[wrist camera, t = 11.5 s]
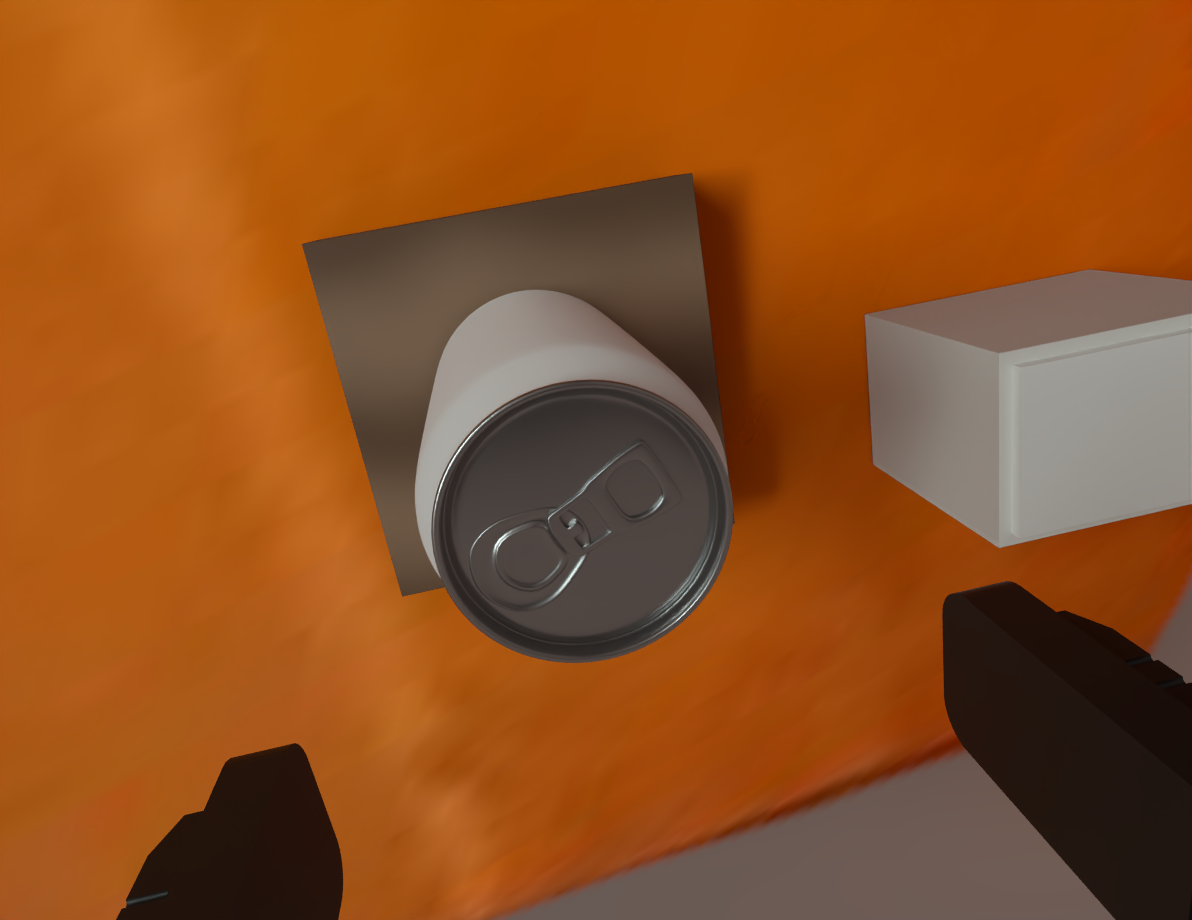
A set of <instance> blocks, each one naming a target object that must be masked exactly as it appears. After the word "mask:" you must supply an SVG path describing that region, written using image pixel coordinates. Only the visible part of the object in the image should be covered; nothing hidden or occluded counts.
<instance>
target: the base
mask: <svg viewBox="0 0 1192 920" xmlns="http://www.w3.org/2000/svg"><path fill="white" fill-rule="evenodd" d="M302 246H303V249H304V253H305V256H306V260H307V264H308V267H309V271H310V274H311V278H312V281H313V285H314V288H315V292H316V295H317V299H318V302H319V306H320V309H321V313H322V316H323V320H324V323H325V327H326V330H327V334H328V337H329V341H330V344H331V348H332V351H333V355H334V358H335V362H336V365H337V369H338V372H339V376H340V379H341V383H342V386H343V390H344V393H345V397H346V400H347V404H348V408H349V411H350V415H351V418H352V422H353V425H354V429H355V432H356V436H357V439H358V443H359V446H360V450H361V453H362V457H363V460H364V464H365V467H366V471H367V474H368V478H369V481H370V485H371V488H372V492H373V495H374V499H375V502H376V506H377V509H378V513H379V516H380V520H381V523H382V527H383V530H384V534H385V537H386V541H387V545H388V548H389V552H390V555H391V559H392V562H393V566H394V569H395V573H396V576H397V580H398V583H399V587H400V590H401V594H402V596H407V595H411V594H416V593H420V592H425V591H429V590H434V589H439V588H443V587H445V586H444V584H443V582H442V580H441V578H440V577H439V575H438V574H437V572H436V571H435V569H434V567H433V565H432V564H431V562H430V560H429V558H428V555H427V553H426V551H425V548H424V546H423V543H422V540H421V536H420V532H419V528H418V523H417V517H416V508H415V481H416V472H417V464H418V458H419V452H420V447H421V442H422V437H423V432H424V427H425V422H426V417H427V413H428V408H429V403H430V399H431V394H432V390H433V385H434V381H435V377H436V373H437V369H438V365H439V362H440V359H441V356H442V354H443V351H444V349H445V347H446V345H447V343H448V341H449V339H450V338H451V336H452V335H453V333H454V332H455V330H456V329H457V328H458V327H459V325H460V324H461V323H462V322H463V321H464V320H465V319H466V318H467V317H468V316H469V315H470V314H472V313H473V312H474V311H475V310H477V309H478V308H479V307H481V306H482V305H484V304H486V303H488V302H489V301H491V300H493V299H496V298H498V297H500V296H503V295H506V294H510V293H513V292H518V291H525V290H549V291H555V292H560V293H564V294H567V295H571V296H573V297H576V298H578V299H580V300H582V301H584V302H586V303H588V304H590V305H591V306H593V307H594V308H596V309H597V310H599V311H600V312H602V313H603V314H604V315H606V316H607V317H608V318H609V319H611V320H612V321H613V322H614V323H616V324H617V325H618V326H619V327H621V328H622V329H623V330H624V331H625V332H627V333H628V334H629V335H630V336H632V337H633V338H634V339H635V340H636V341H638V342H639V343H640V344H641V345H642V346H644V347H645V348H646V349H647V350H648V351H650V352H651V353H652V354H653V355H654V356H655V357H657V358H658V359H659V360H660V361H661V362H662V363H664V364H665V365H666V366H667V367H668V368H669V369H670V370H672V371H673V372H674V373H675V374H676V375H677V376H678V377H679V378H680V379H681V380H682V381H683V382H684V383H685V384H686V385H687V386H688V387H689V388H690V389H691V390H692V392H693V393H694V394H695V395H696V396H697V398H698V399H699V400H700V402H701V403H702V405H703V406H704V408H705V409H706V411H707V412H708V414H709V416H710V417H711V419H712V421H713V423H714V425H715V427H716V429H717V432H718V434H719V437H720V439H721V442H722V446H723V449H724V453H725V457H726V463H727V456H726V448H725V440H724V431H723V423H722V415H721V407H720V398H719V390H718V382H717V374H716V366H715V357H714V349H713V341H712V333H711V324H710V316H709V308H708V300H707V292H706V283H705V275H704V267H703V259H702V250H701V242H700V234H699V226H698V218H697V209H696V201H695V193H694V185H693V176H692V173H690V174H682V175H674V176H669V177H663V178H658V179H652V180H647V181H641V182H635V183H630V184H624V185H619V186H613V187H608V188H602V189H597V190H591V191H586V192H580V193H575V194H569V195H564V196H558V197H553V198H547V199H542V200H536V201H531V202H525V203H520V204H514V205H509V206H503V207H498V208H492V209H487V210H481V211H476V212H470V213H465V214H459V215H454V216H448V217H443V218H437V219H432V220H426V221H420V222H415V223H409V224H404V225H398V226H393V227H387V228H382V229H376V230H371V231H365V232H360V233H354V234H349V235H343V236H338V237H332V238H327V239H321V240H316V241H312V242H308V243H304V244H302ZM727 470H728V464H727ZM728 479H729V472H728ZM729 483H730V481H729ZM734 523H735V522H734V514H733V524H734Z"/></svg>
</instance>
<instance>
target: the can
mask: <svg viewBox="0 0 1192 920" xmlns="http://www.w3.org/2000/svg"><path fill="white" fill-rule="evenodd" d="M415 508H416V517H417V523H418V528H419V532H420V536H421V540H422V543H423V546H424V548H425V551H426V553H427V555H428V558H429V560H430V562H431V564H432V565H433V567H434V569H435V571H436V572H437V574H438V575H439V577H440V578H441V580H442V582H443V584H444V586H445V588H446V590H447V592H448V594H449V595H450V597H451V599H452V600H453V602H454V603H455V605H456V606H457V607H458V609H459V610H460V611H461V612H462V613H463V615H464V616H465V617H466V618H467V619H468V620H469V621H470V622H471V623H472V624H473V625H474V626H475V627H476V628H478V629H479V630H480V631H481V632H482V633H484V634H485V635H487V636H488V637H489V638H491V639H492V640H494V641H496V642H497V643H499V644H501V645H503V646H505V647H507V648H509V649H511V650H513V651H516V652H518V653H521V654H524V655H527V656H530V657H533V658H537V659H542V660H547V661H554V662H565V663H583V662H594V661H601V660H606V659H611V658H615V657H619V656H622V655H625V654H628V653H631V652H633V651H636V650H638V649H641V648H643V647H645V646H647V645H649V644H651V643H653V642H655V641H656V640H658V639H660V638H661V637H663V636H664V635H666V634H667V633H669V632H670V631H672V630H673V629H674V628H675V627H677V626H678V625H679V624H680V623H682V622H683V621H684V620H685V619H686V618H687V617H688V616H689V615H690V614H691V613H692V612H693V611H694V610H695V609H696V608H697V606H698V605H699V604H700V603H701V602H702V600H703V599H704V598H705V596H706V595H707V593H708V592H709V591H710V589H711V587H712V586H713V584H714V582H715V581H716V579H717V577H718V575H719V573H720V571H721V568H722V566H723V563H724V561H725V558H726V555H727V552H728V548H729V544H730V540H731V534H732V526H733V501H732V493H731V488H730V483H729V479H728V470H727V463H726V457H725V453H724V449H723V446H722V442H721V439H720V437H719V434H718V432H717V429H716V427H715V425H714V423H713V421H712V419H711V417H710V416H709V414H708V412H707V411H706V409H705V408H704V406H703V405H702V403H701V402H700V400H699V399H698V398H697V396H696V395H695V394H694V393H693V392H692V390H691V389H690V388H689V387H688V386H687V385H686V384H685V383H684V382H683V381H682V380H681V379H680V378H679V377H678V376H677V375H676V374H675V373H674V372H673V371H672V370H670V369H669V368H668V367H667V366H666V365H665V364H664V363H662V362H661V361H660V360H659V359H658V358H657V357H655V356H654V355H653V354H652V353H651V352H650V351H648V350H647V349H646V348H645V347H644V346H642V345H641V344H640V343H639V342H638V341H636V340H635V339H634V338H633V337H632V336H630V335H629V334H628V333H627V332H625V331H624V330H623V329H622V328H621V327H619V326H618V325H617V324H616V323H614V322H613V321H612V320H611V319H609V318H608V317H607V316H606V315H604V314H603V313H602V312H600V311H599V310H597V309H596V308H594V307H593V306H591V305H590V304H588V303H586V302H584V301H582V300H580V299H578V298H576V297H573V296H571V295H567V294H564V293H560V292H555V291H549V290H525V291H518V292H513V293H510V294H506V295H503V296H500V297H498V298H496V299H493V300H491V301H489V302H488V303H486V304H484V305H482V306H481V307H479V308H478V309H477V310H475V311H474V312H473V313H472V314H470V315H469V316H468V317H467V318H466V319H465V320H464V321H463V322H462V323H461V324H460V325H459V327H458V328H457V329H456V330H455V332H454V333H453V335H452V336H451V338H450V339H449V341H448V343H447V345H446V347H445V349H444V351H443V354H442V356H441V359H440V362H439V365H438V369H437V373H436V377H435V381H434V385H433V390H432V394H431V399H430V403H429V408H428V413H427V417H426V422H425V427H424V432H423V437H422V442H421V447H420V452H419V458H418V464H417V472H416V481H415Z"/></svg>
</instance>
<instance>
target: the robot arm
mask: <svg viewBox="0 0 1192 920" xmlns="http://www.w3.org/2000/svg"><path fill="white" fill-rule="evenodd" d="M943 665H944V700H945V706H946V710H947V714H948V717H949V720H950V722H951V725H952V727H953V729H954V731H955V734H956V735H957V737H958V739H959V741H960V742H961V744H962V745H963V746H964V748H965V749H966V750H967V751H968V752H969V754H970V755H971V756H972V757H973V758H974V759H975V760H976V762H977V763H978V764H979V765H980V766H981V767H982V768H983V769H984V770H985V772H986V773H987V774H988V775H989V776H990V777H991V778H992V780H993V781H994V782H995V783H996V784H997V785H998V787H999V788H1000V789H1001V790H1002V791H1003V792H1004V793H1005V794H1006V796H1007V797H1008V798H1009V799H1010V800H1011V801H1012V802H1013V804H1014V805H1015V806H1016V807H1017V808H1018V809H1019V810H1020V812H1021V813H1022V814H1023V815H1024V816H1025V817H1026V818H1027V819H1028V821H1029V822H1030V823H1031V824H1032V825H1033V826H1034V827H1035V828H1036V830H1037V831H1038V832H1039V833H1040V834H1041V835H1042V836H1043V838H1044V839H1045V840H1046V841H1047V842H1048V843H1049V845H1050V846H1051V847H1052V848H1053V849H1054V850H1055V851H1056V853H1057V854H1058V855H1059V856H1060V857H1061V858H1062V859H1063V860H1064V861H1065V863H1066V864H1067V865H1068V866H1069V867H1070V868H1071V869H1072V871H1073V872H1074V873H1075V874H1076V875H1077V876H1078V877H1079V879H1080V880H1081V881H1082V882H1083V883H1084V884H1085V885H1086V887H1087V888H1088V889H1089V890H1090V891H1091V892H1092V893H1093V895H1094V896H1095V897H1096V898H1097V899H1098V900H1099V901H1100V903H1101V904H1102V905H1103V906H1104V907H1105V908H1106V909H1107V911H1108V912H1109V913H1110V914H1111V915H1112V916H1113V917H1114V918H1115V919H1116V920H1192V683H1187V684H1186V683H1185V682H1184V680H1183V677H1182V676H1181V675H1179V674H1178V673H1176V672H1175V671H1174V670H1172V669H1171V668H1169V667H1168V666H1166V665H1165V664H1163V663H1162V662H1160V661H1159V660H1156V661H1153V660H1152V658H1151V655H1150V654H1149V653H1147V652H1146V651H1144V650H1143V649H1141V648H1140V647H1139V646H1137V645H1136V644H1134V643H1133V642H1131V641H1130V640H1128V639H1127V638H1125V637H1124V636H1123V635H1121V634H1120V633H1118V632H1117V631H1115V630H1114V629H1112V628H1110V627H1107V626H1104V625H1102V624H1099V623H1096V622H1094V621H1091V620H1089V619H1086V618H1083V617H1081V616H1078V615H1075V614H1073V613H1070V612H1068V611H1065V610H1064V611H1060V612H1055V611H1054V610H1053V609H1051V608H1050V607H1049V606H1047V605H1046V604H1044V603H1043V602H1042V601H1040V600H1039V599H1038V598H1036V597H1035V596H1033V595H1032V594H1031V593H1029V592H1028V591H1026V590H1025V589H1024V588H1022V587H1021V586H1019V585H1018V584H1016V583H1014V582H1011V581H1005V582H1001V583H997V584H992V585H988V586H984V587H979V588H975V589H971V590H966V591H962V592H958V593H953V594H950V595H948V596H947V597H946V599H945V601H944V604H943ZM342 893H343V869H342V860H341V854H340V849H339V845H338V841H337V838H336V835H335V833H334V830H333V827H332V824H331V822H330V819H329V816H328V813H327V811H326V808H325V805H324V802H323V799H322V797H321V794H320V791H319V788H318V786H317V783H316V780H315V777H314V775H313V772H312V769H311V766H310V764H309V761H308V758H307V756H306V754H305V752H304V750H303V749H302V747H301V746H300V745H298V744H296V743H294V744H290V745H286V746H281V747H277V748H273V749H268V750H264V751H259V752H255V753H251V754H246V755H242V756H238V757H233V758H230V759H229V760H228V761H227V762H226V763H225V764H224V766H223V768H222V770H221V773H220V775H219V777H218V779H217V782H216V784H215V786H214V788H213V791H212V793H211V795H210V798H209V800H208V802H207V804H206V807H205V809H204V811H200V812H196V813H192V814H188V815H184V816H183V818H182V819H181V820H180V821H179V822H178V823H177V824H176V825H175V826H174V828H173V829H172V830H171V831H170V832H169V833H168V834H167V835H166V836H165V838H164V839H163V840H162V841H161V842H160V843H159V844H158V845H157V846H156V847H155V849H154V850H153V851H152V852H151V853H150V854H149V855H148V856H147V859H146V861H145V863H144V865H143V867H142V869H141V871H140V873H139V875H138V877H137V879H136V881H135V883H134V885H133V887H132V889H131V891H130V893H129V895H128V897H127V899H126V902H127V906H126V908H123V909H121V911H120V913H119V915H118V917H117V919H116V920H338V918H339V912H340V907H341V901H342Z"/></svg>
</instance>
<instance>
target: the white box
mask: <svg viewBox="0 0 1192 920" xmlns="http://www.w3.org/2000/svg"><path fill="white" fill-rule="evenodd" d="M865 328H866V346H867V364H868V382H869V400H870V417H871V435H872V453H873V465H875V466H876V467H878V468H879V469H881V470H882V471H884V472H885V473H887V474H888V475H890V476H891V477H893V478H894V479H896V480H897V481H899V482H900V483H902V484H903V485H905V486H906V487H908V488H909V489H911V490H912V491H914V492H915V493H917V494H918V495H920V496H921V497H923V498H924V499H926V500H927V501H929V502H930V503H932V504H933V505H935V506H936V507H938V508H939V509H941V510H943V511H944V512H946V513H947V514H949V515H950V516H952V517H953V518H955V519H956V520H958V521H959V522H961V523H962V524H964V525H965V526H967V527H968V528H970V529H971V530H973V531H974V532H976V533H977V534H979V535H980V536H982V537H983V538H985V539H986V540H988V541H989V542H991V543H992V544H994V545H995V546H997V547H998V548H1001V547H1005V546H1009V545H1014V544H1018V543H1023V542H1027V541H1031V540H1036V539H1040V538H1044V537H1049V536H1053V535H1058V534H1062V533H1066V532H1071V531H1075V530H1079V529H1084V528H1088V527H1093V526H1097V525H1101V524H1106V523H1110V522H1114V521H1119V520H1123V519H1128V518H1132V517H1136V516H1141V515H1145V514H1149V513H1154V512H1158V511H1163V510H1167V509H1171V508H1176V507H1180V506H1184V505H1189V504H1192V281H1188V280H1179V279H1170V278H1161V277H1152V276H1143V275H1134V274H1125V273H1116V272H1107V271H1098V270H1084V271H1079V272H1074V273H1069V274H1064V275H1059V276H1054V277H1049V278H1044V279H1039V280H1034V281H1029V282H1024V283H1019V284H1014V285H1009V286H1004V287H999V288H994V289H989V290H984V291H979V292H974V293H969V294H964V295H959V296H954V297H949V298H944V299H939V300H934V301H929V302H924V303H919V304H914V305H909V306H904V307H899V308H894V309H890V310H885V311H880V312H875V313H870V314H865Z"/></svg>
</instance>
